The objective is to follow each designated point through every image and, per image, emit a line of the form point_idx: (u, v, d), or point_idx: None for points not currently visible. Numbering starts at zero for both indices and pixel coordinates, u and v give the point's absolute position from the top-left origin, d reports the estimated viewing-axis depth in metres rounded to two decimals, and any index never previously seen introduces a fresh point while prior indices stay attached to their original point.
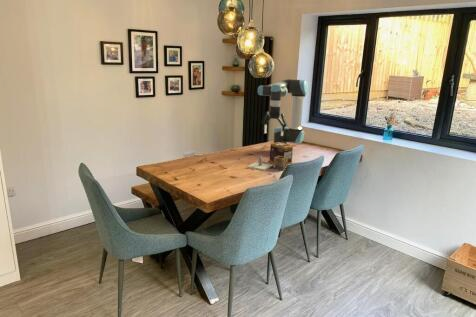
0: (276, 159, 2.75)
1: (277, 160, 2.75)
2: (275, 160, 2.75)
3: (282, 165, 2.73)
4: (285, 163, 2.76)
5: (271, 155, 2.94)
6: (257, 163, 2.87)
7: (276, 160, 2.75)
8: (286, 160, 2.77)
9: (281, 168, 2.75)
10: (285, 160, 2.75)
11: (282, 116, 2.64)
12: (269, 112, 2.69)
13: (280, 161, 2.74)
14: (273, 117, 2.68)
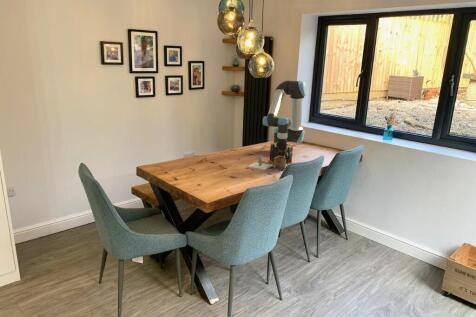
0: (276, 159, 2.75)
1: (277, 160, 2.75)
2: (275, 160, 2.75)
3: (282, 165, 2.73)
4: None
5: None
6: (257, 163, 2.87)
7: (276, 160, 2.75)
8: None
9: (281, 168, 2.75)
10: None
11: (288, 149, 2.71)
12: (276, 144, 2.76)
13: (280, 161, 2.74)
14: (280, 148, 2.74)
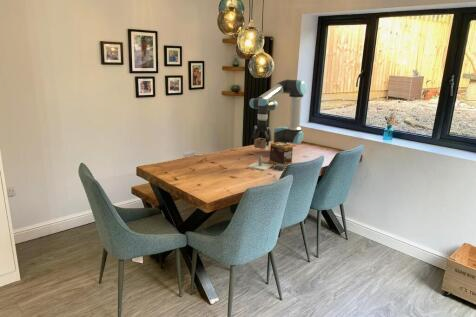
0: (256, 141, 2.74)
1: (257, 142, 2.74)
2: (255, 142, 2.75)
3: (262, 147, 2.73)
4: None
5: (271, 155, 2.94)
6: (257, 163, 2.87)
7: (256, 142, 2.74)
8: None
9: (281, 168, 2.75)
10: None
11: (268, 131, 2.71)
12: (256, 126, 2.75)
13: (260, 142, 2.73)
14: (260, 130, 2.74)
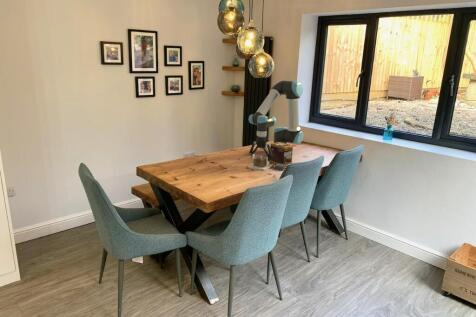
0: (255, 160, 2.78)
1: (256, 161, 2.78)
2: (255, 161, 2.79)
3: (261, 165, 2.77)
4: (264, 163, 2.80)
5: None
6: None
7: (256, 161, 2.79)
8: (266, 161, 2.81)
9: (281, 168, 2.75)
10: (264, 161, 2.79)
11: (268, 146, 2.74)
12: (256, 142, 2.78)
13: (259, 161, 2.77)
14: (260, 147, 2.77)
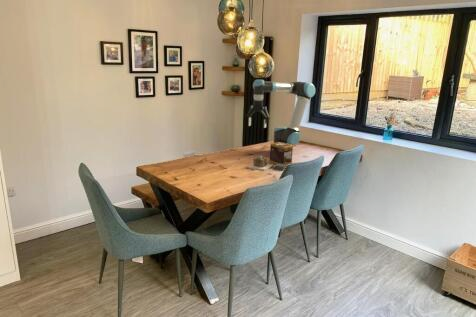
0: (255, 160, 2.78)
1: (256, 161, 2.78)
2: (255, 161, 2.79)
3: (261, 165, 2.77)
4: (264, 163, 2.80)
5: (271, 155, 2.94)
6: None
7: (256, 161, 2.79)
8: (266, 161, 2.81)
9: (281, 168, 2.75)
10: (264, 161, 2.79)
11: (265, 109, 2.82)
12: (253, 106, 2.87)
13: (259, 161, 2.77)
14: (256, 110, 2.86)
